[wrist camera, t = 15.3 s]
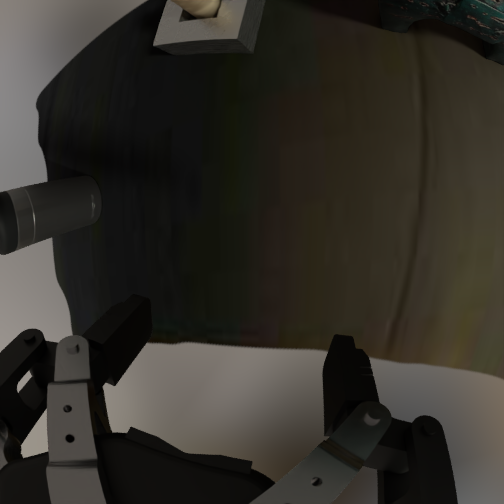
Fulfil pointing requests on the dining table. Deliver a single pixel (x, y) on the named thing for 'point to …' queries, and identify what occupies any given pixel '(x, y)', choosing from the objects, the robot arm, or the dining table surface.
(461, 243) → the dining table surface
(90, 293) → the dining table surface
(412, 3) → the ceramic cat
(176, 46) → the socket block
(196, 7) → the wooden peg
